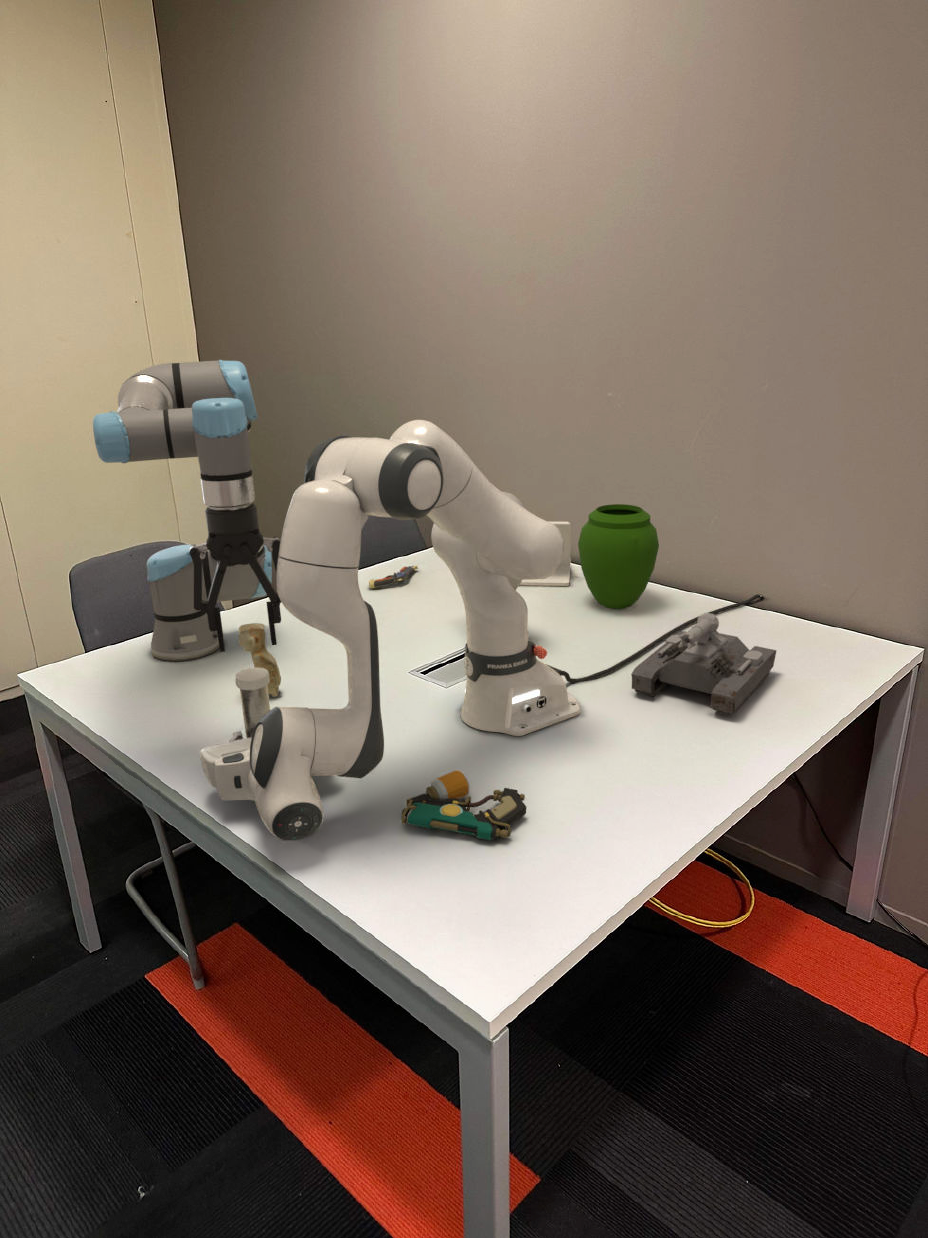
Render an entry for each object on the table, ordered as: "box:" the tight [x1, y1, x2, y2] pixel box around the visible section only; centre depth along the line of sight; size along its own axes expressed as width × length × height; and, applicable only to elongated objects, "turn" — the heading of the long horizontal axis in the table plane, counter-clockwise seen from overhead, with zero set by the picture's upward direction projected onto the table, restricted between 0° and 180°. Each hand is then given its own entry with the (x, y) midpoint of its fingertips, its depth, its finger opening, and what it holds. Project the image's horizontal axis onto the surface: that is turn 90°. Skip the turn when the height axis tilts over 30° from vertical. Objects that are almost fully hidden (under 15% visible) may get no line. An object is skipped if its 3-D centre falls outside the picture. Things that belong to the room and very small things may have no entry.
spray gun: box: [401, 769, 527, 841], centre depth 128 cm, size 4×17×15 cm
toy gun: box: [368, 565, 419, 589], centre depth 238 cm, size 3×19×10 cm
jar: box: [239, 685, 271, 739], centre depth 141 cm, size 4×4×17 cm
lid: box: [234, 667, 270, 690], centre depth 138 cm, size 5×5×2 cm
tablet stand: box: [519, 521, 572, 587], centre depth 236 cm, size 18×25×17 cm
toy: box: [630, 612, 777, 715], centre depth 167 cm, size 25×20×15 cm
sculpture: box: [238, 622, 282, 698], centre depth 168 cm, size 6×7×15 cm
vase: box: [577, 503, 660, 610], centre depth 210 cm, size 20×20×24 cm
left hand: (248, 645), depth 136 cm, fingers open, 7 cm apart
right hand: (258, 731), depth 143 cm, fingers open, 6 cm apart
